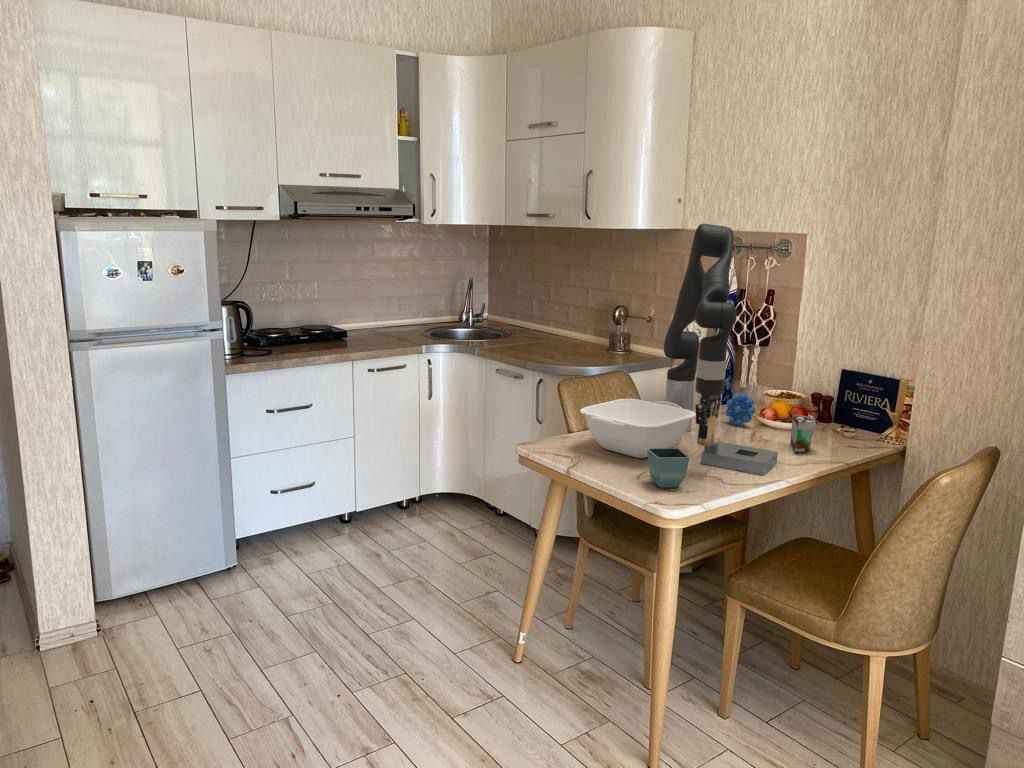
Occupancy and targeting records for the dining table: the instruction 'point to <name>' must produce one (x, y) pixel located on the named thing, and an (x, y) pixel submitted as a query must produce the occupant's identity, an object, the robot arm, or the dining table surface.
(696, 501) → the dining table surface
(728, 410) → the blue knobby disc
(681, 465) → the flower pot
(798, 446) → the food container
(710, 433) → the gold peg
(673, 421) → the white basin
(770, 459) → the plate
